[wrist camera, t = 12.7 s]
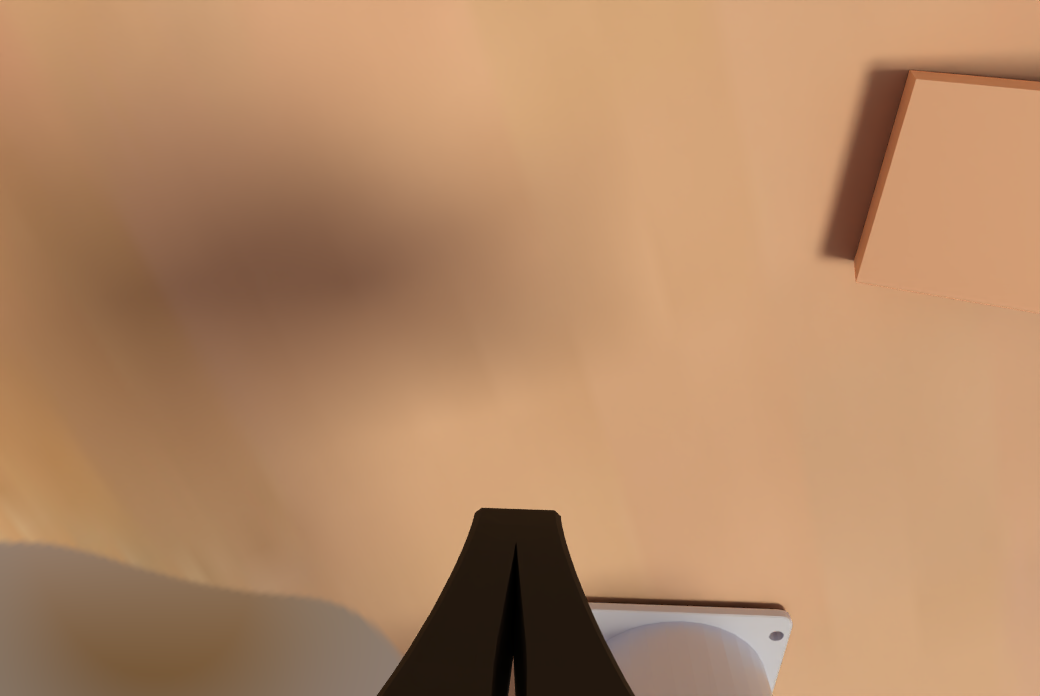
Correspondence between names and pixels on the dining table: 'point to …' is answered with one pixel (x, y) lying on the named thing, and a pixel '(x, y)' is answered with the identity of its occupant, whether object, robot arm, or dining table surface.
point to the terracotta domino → (959, 193)
